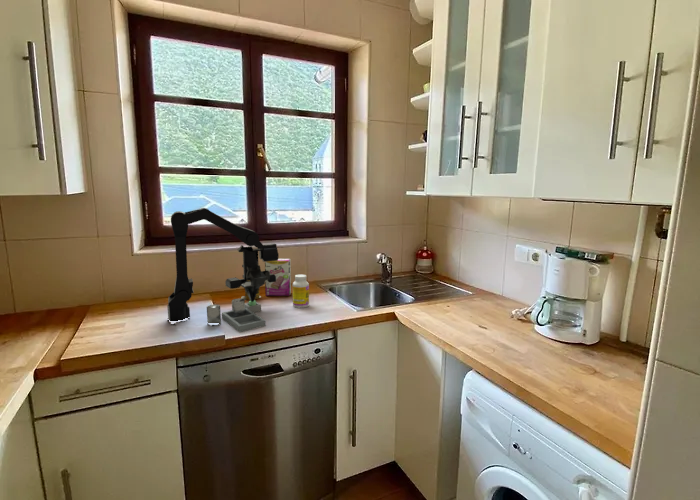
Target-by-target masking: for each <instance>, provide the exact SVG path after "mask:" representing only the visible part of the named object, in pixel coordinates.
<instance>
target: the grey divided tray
mask: <svg viewBox="0 0 700 500" xmlns="http://www.w3.org/2000/svg"><path fill="white" fill-rule="evenodd" d="M221 319H222V320H224V321H225V322H226V323H228V325H230V326H231V327H232V328H233V329H235V330H236V331H237V332H239V333H241V332H242V333H243V332H245V331H250V330H254V329H258V328H262V327H266V326H267V325H266V324H267V323H266V319H264V318H263V317H261V316H259V315H258V314H257V313H256V312H252V311H250V310H249V309H247V308H245V316H240V317H235V318H232V310H228V311H222V312H221Z"/></svg>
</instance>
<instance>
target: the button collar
mask: <svg viewBox="0 0 700 500" xmlns="http://www.w3.org/2000/svg"><path fill="white" fill-rule="evenodd" d="M245 308H247V309H249V310H250V311H252V312H253V313H257V312H260V311H261V312H262V304H261V303H260V302H257V301H256V305H253V306H249V302H246V303H245Z"/></svg>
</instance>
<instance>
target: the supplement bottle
mask: <svg viewBox="0 0 700 500" xmlns="http://www.w3.org/2000/svg"><path fill="white" fill-rule="evenodd" d="M309 305H310V283H309V282H308V281H307V275H306V274H301V273H300V274H295V275H294V281H293V282H292V306H293V307H294V308H297V309H298V308H299V309H303V308H308V307H309Z"/></svg>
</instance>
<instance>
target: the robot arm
mask: <svg viewBox="0 0 700 500" xmlns="http://www.w3.org/2000/svg"><path fill="white" fill-rule="evenodd" d="M203 220H205V221H207V222H209V223H210V224H212V225H215V226H216V227H219V228H220V229H222V230H224V231H225V232H228V233H230V234H231V235H233V236H235V237H236V238H237V239H238V240H240V241H241V242H242V243H244V244H245V245H246V246H244V245H243V244H241V245H240V246H239V248H237V252H238V253H242V265H241V266H242V267H241V268H242V270H243V274H242V278H240V279H239V278H238V277H229V278H226V279H225V282H224V283H225V287H226V288H229V289H238V288H240V287H242V288H244V291H245V290H246V292H247V294H248V296H249V298H250V300H249V301H251V302H254V299H255V296H256V293H257V291H258V289H259V290H260V287H262V286H264V285H265V280H267V281H268V282H270V283H271V282H276V276H275V275H274V274H272V273H270V272H269V271H268V270H267V271H265V270H261V265H259V260H262V262H263V263H265V262H266V261H278V259H279V250H278V245H277V244H276V243H269V244H267V243H266V244H263V243H262V242H261V241H260V240H259V239H260V237H259V234H258V233H257V232H256V231H254V230H252V229H249V228H247V227H243V226H241V225H237V224H235V223H233V222H231V221H230V220H228V219H226V218H224V217H222V216H220V215H219V214H217V213H215V212H213V211H211V210H209V209H208V208H206V207H201V208H199V209H193V210H190V211H185V212H184V211H181V210H180V211H175V212H173V213H172V214H171V216H170V224H171V228H172V232H173V235H174V243H175V264H176V265H175V268H176V275H175V282H174V288H173V292H172V293H171V294H170V295H169V296H168V297H167V298H168V300H167V301H168V302H167V306H166V307H167V319H169V320H170V321H178V320H183V319H185V318H188V317H190V318H191V310H190V307H189V305H188V303H187V302H189V300H190V299H191V298H192V294H194V292H195V291H194V288H193V287H194V280H193V278H189V276H188V258H187V257H188V256H187V253H188V252H187V236H188V235H187V234H188V229H189V225H190V224H193V223H197V222H200V221H203ZM253 247H256V248H253ZM249 280H250V281H249ZM255 300H256V299H255Z"/></svg>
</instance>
